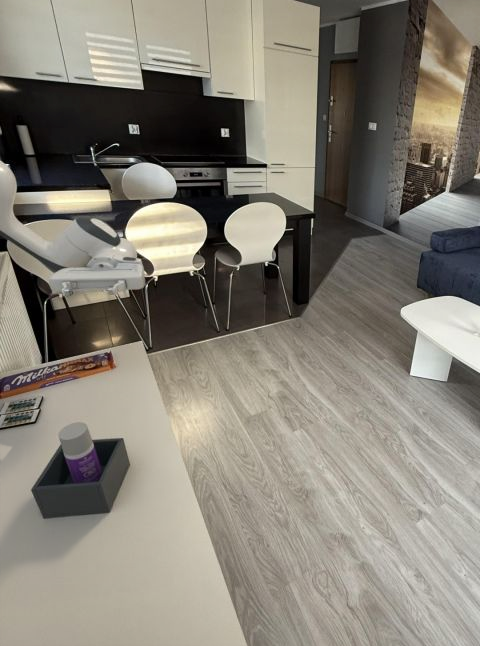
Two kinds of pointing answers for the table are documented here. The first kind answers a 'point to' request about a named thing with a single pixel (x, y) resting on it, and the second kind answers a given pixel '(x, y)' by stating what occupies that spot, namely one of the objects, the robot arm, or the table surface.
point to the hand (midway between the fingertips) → (89, 292)
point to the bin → (82, 498)
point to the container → (80, 453)
